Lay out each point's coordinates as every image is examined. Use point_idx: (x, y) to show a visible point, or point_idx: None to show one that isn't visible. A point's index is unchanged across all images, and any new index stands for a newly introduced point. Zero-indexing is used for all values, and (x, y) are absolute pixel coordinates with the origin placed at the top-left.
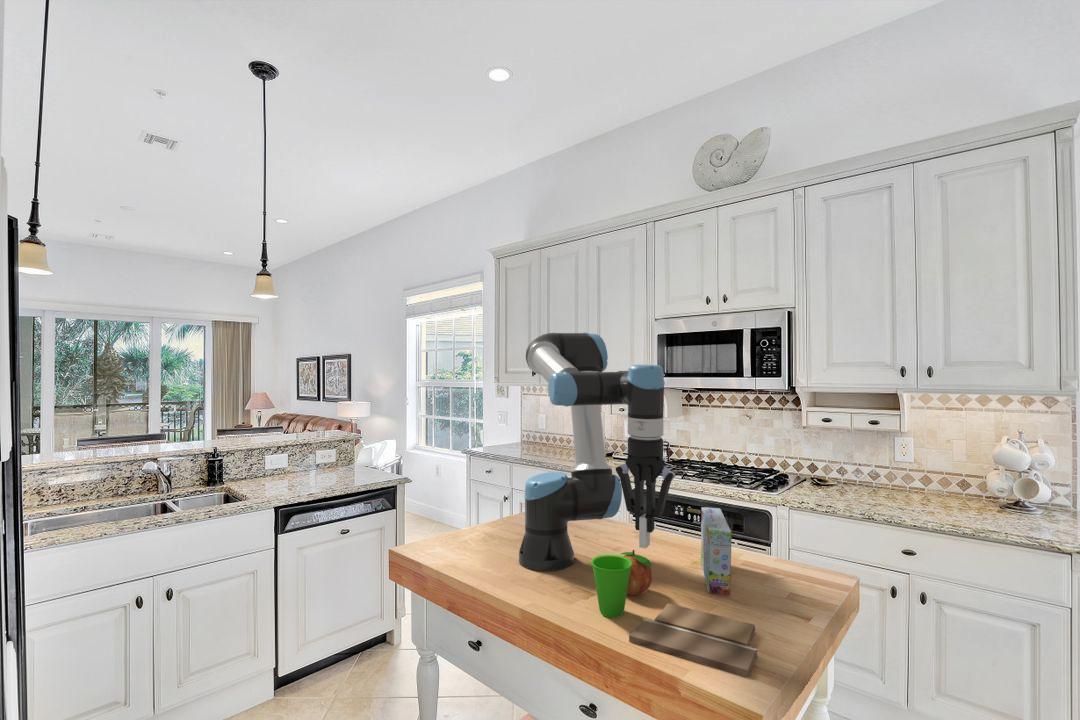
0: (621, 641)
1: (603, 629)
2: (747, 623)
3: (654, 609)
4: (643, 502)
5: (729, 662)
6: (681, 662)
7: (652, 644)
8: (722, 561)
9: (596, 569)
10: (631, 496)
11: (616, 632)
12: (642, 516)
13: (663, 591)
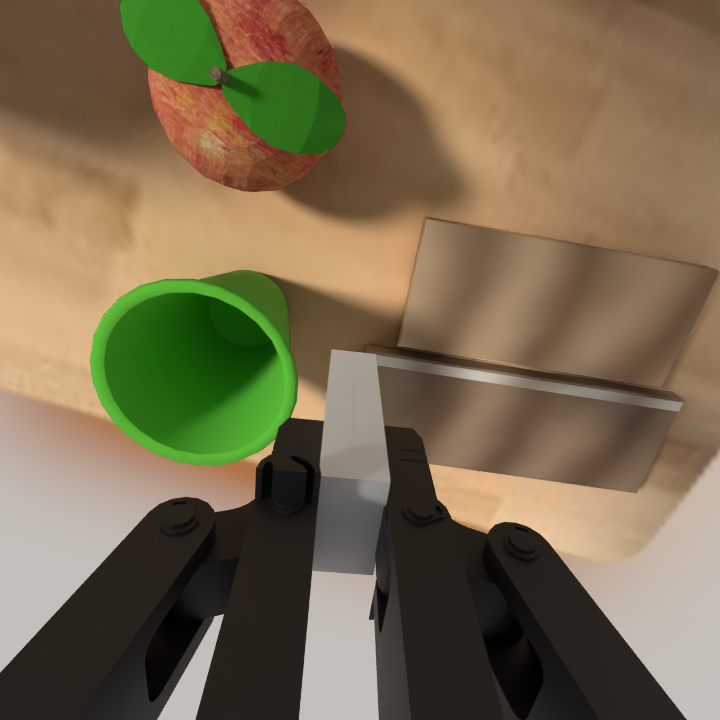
0: None
1: None
2: (696, 271)
3: (376, 229)
4: (309, 593)
5: (599, 478)
6: (483, 479)
7: None
8: None
9: (160, 438)
10: (125, 714)
11: (303, 412)
12: (330, 547)
13: (383, 35)
